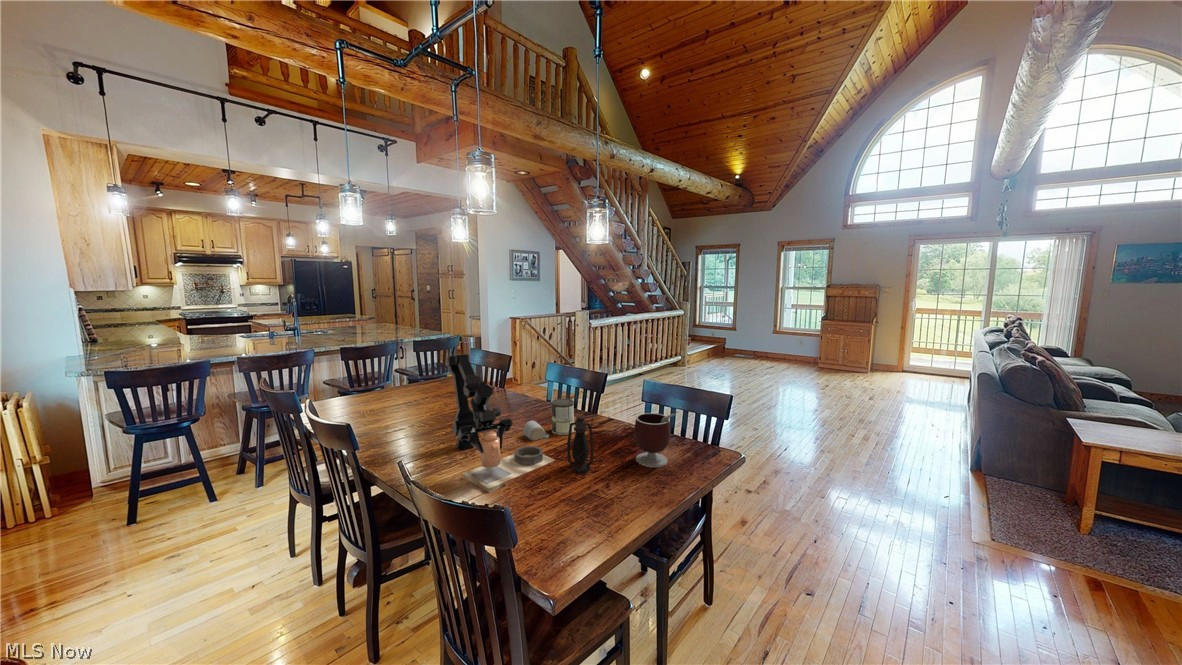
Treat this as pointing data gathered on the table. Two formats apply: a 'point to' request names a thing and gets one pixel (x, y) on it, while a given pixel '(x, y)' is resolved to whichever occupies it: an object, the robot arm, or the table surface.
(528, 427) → the ceramic mug
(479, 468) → the board
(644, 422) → the mate gourd
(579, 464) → the lantern
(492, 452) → the peach jug
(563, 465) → the table surface
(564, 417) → the coffee can
